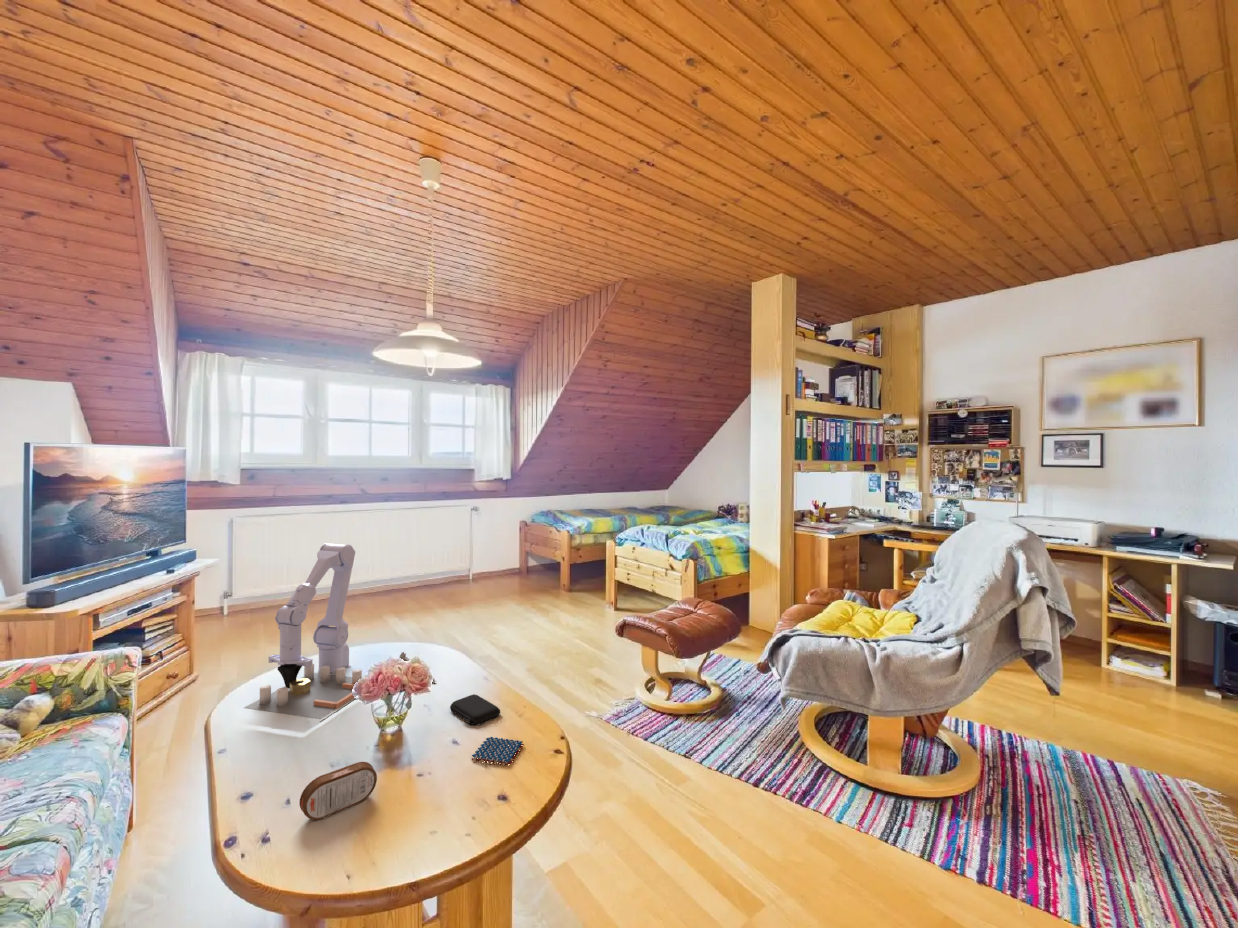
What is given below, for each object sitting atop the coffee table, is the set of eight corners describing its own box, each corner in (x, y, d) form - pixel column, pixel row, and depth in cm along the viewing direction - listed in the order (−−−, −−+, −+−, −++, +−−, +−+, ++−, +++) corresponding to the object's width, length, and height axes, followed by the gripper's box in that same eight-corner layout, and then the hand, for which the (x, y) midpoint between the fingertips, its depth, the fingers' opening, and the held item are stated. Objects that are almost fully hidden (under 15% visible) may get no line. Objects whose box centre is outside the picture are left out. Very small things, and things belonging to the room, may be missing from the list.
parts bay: (344, 686, 172) (344, 682, 172) (366, 689, 171) (366, 685, 171) (313, 704, 160) (313, 700, 160) (336, 708, 158) (337, 704, 158)
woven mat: (510, 769, 132) (510, 761, 132) (470, 763, 134) (470, 755, 134) (525, 747, 142) (525, 739, 142) (488, 742, 145) (488, 734, 144)
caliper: (398, 669, 190) (398, 651, 189) (401, 668, 191) (401, 650, 190) (434, 684, 178) (434, 666, 178) (437, 683, 179) (437, 665, 179)
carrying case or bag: (443, 712, 160) (471, 730, 150) (444, 702, 160) (471, 719, 150) (475, 700, 168) (503, 717, 158) (475, 691, 167) (503, 707, 158)
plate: (311, 675, 182) (311, 659, 182) (379, 683, 177) (379, 667, 177) (243, 710, 157) (243, 692, 157) (320, 722, 152) (320, 703, 151)
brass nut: (300, 686, 171) (300, 676, 171) (313, 688, 170) (314, 678, 170) (285, 694, 166) (285, 684, 166) (299, 696, 165) (299, 686, 165)
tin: (373, 790, 122) (373, 754, 122) (378, 797, 120) (379, 760, 120) (298, 821, 112) (299, 781, 111) (303, 829, 109) (303, 788, 109)
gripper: (260, 646, 166) (259, 689, 166) (300, 650, 163) (299, 695, 163) (279, 638, 173) (278, 680, 173) (317, 642, 170) (317, 685, 170)
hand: (290, 686), depth 169 cm, fingers closed
